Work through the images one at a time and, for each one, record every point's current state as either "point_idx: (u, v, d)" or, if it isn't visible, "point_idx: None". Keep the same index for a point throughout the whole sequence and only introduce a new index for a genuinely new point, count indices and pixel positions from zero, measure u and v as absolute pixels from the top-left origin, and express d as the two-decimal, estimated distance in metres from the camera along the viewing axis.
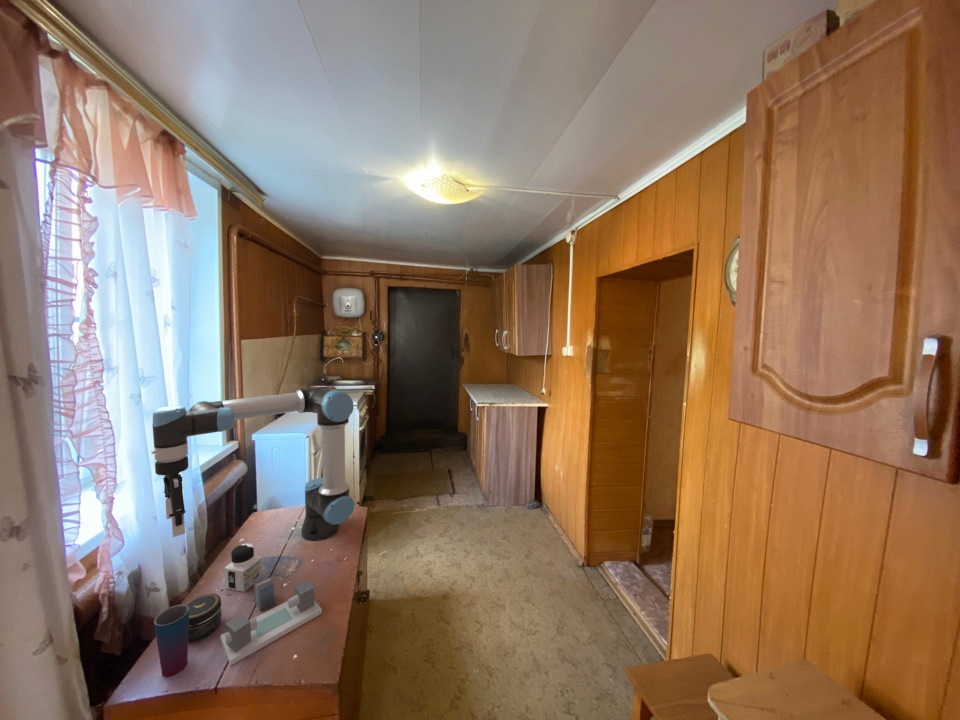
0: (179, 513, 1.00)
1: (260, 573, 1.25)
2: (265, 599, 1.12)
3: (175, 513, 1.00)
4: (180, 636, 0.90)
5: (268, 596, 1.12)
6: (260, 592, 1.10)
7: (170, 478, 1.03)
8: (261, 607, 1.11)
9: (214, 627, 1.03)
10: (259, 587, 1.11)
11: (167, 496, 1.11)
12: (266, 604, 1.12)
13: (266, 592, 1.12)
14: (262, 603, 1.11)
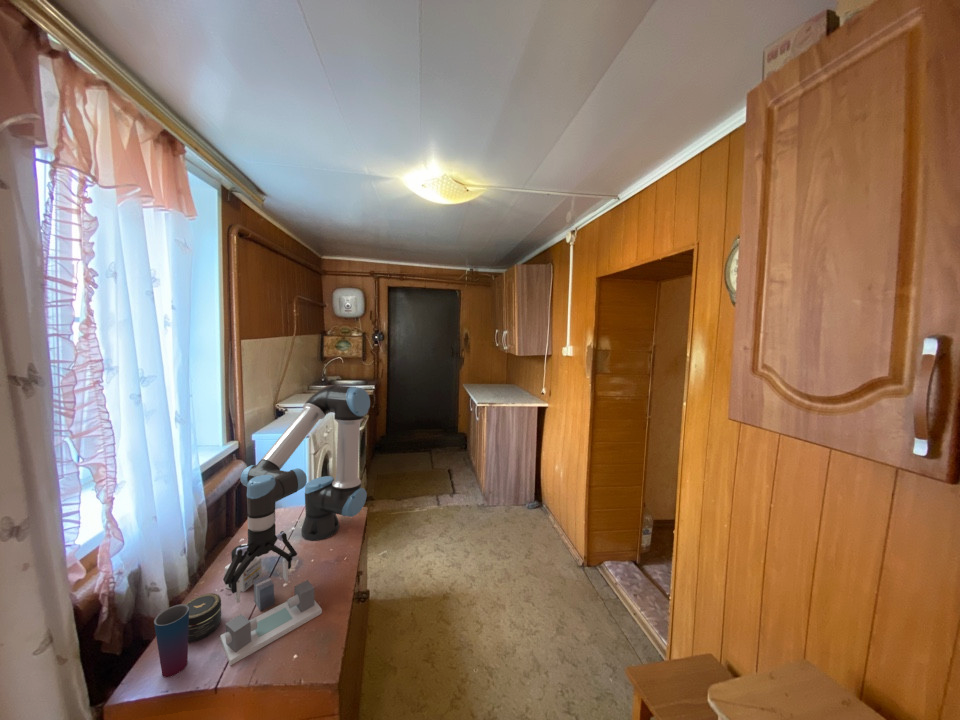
0: (224, 581, 1.05)
1: (260, 573, 1.25)
2: (265, 599, 1.12)
3: (223, 579, 1.06)
4: (180, 636, 0.90)
5: (268, 596, 1.12)
6: (260, 592, 1.10)
7: None
8: (261, 607, 1.11)
9: (214, 627, 1.03)
10: (259, 587, 1.11)
11: None
12: (266, 604, 1.12)
13: (266, 592, 1.12)
14: (262, 603, 1.11)
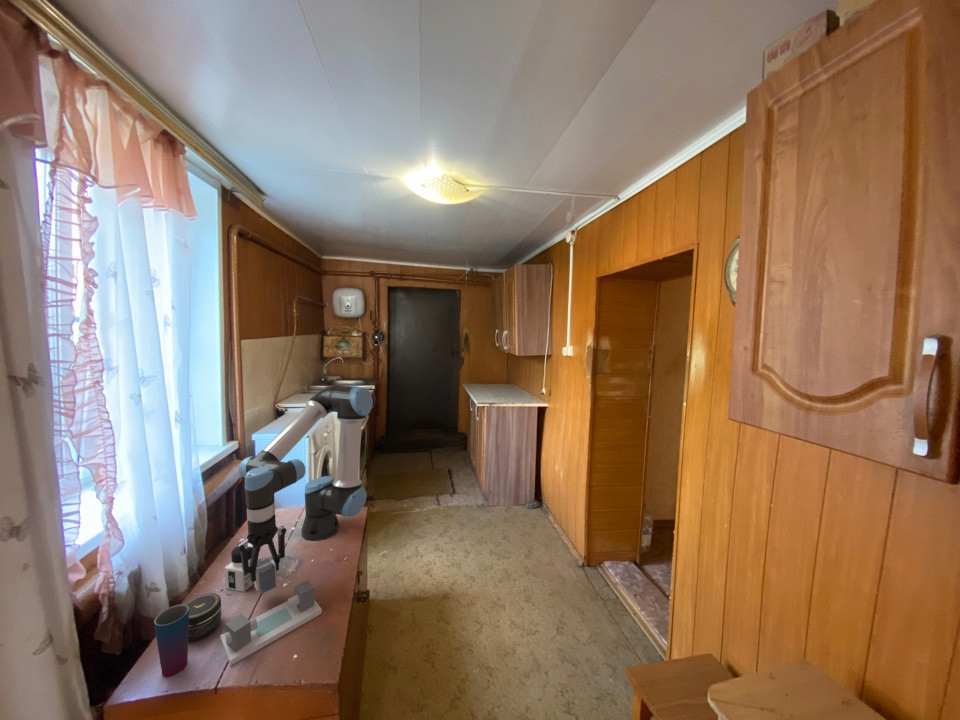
0: None
1: None
2: (266, 582, 1.12)
3: None
4: (180, 636, 0.90)
5: (269, 579, 1.12)
6: (261, 575, 1.10)
7: None
8: (263, 590, 1.11)
9: (214, 627, 1.03)
10: (260, 570, 1.11)
11: None
12: (267, 587, 1.12)
13: (267, 575, 1.12)
14: (263, 586, 1.11)
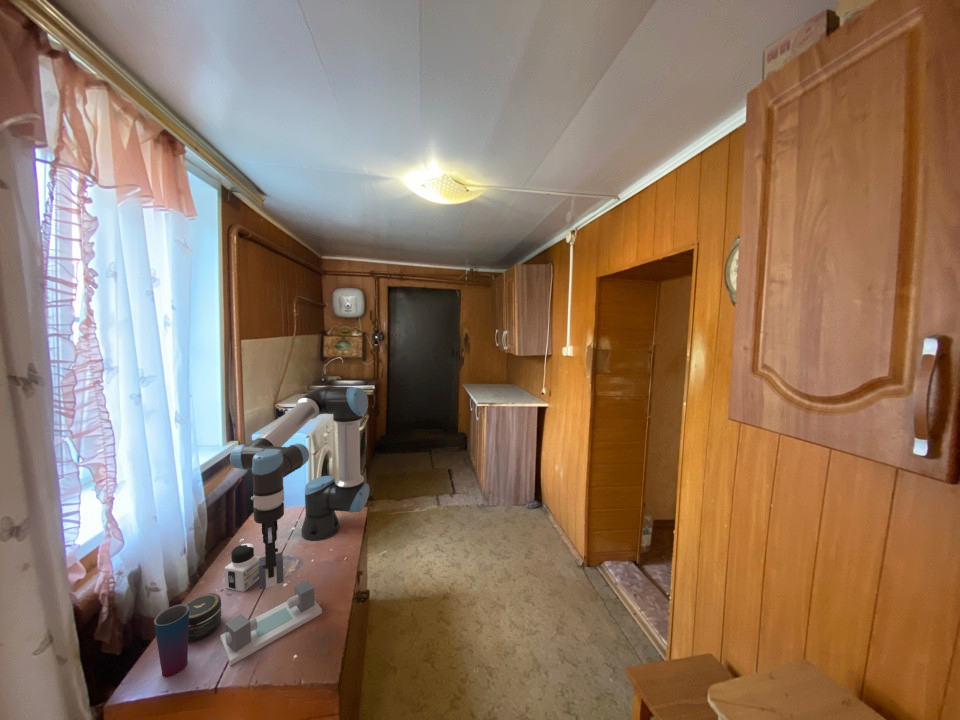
0: (270, 566, 0.99)
1: None
2: None
3: (267, 567, 0.98)
4: (180, 636, 0.90)
5: None
6: (282, 561, 1.04)
7: (266, 529, 0.99)
8: None
9: (214, 627, 1.03)
10: (277, 560, 1.03)
11: None
12: None
13: None
14: None
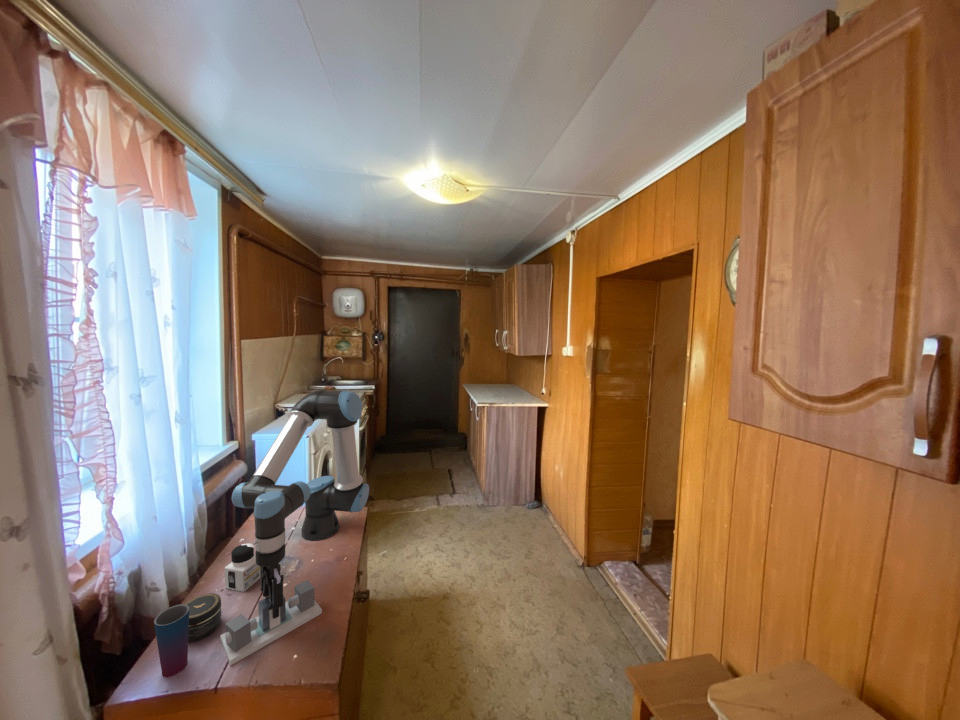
0: (278, 607, 1.01)
1: None
2: None
3: (275, 608, 1.00)
4: (180, 636, 0.90)
5: None
6: (284, 600, 1.05)
7: (272, 571, 1.00)
8: None
9: (214, 627, 1.03)
10: None
11: (265, 595, 1.06)
12: None
13: None
14: None
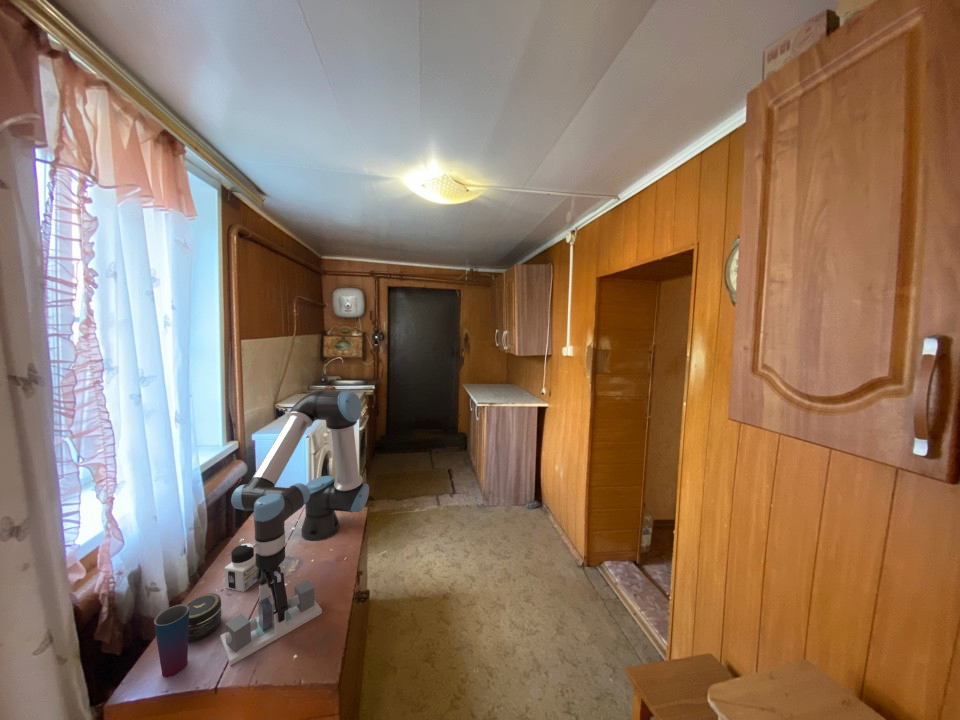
0: (284, 610, 0.98)
1: None
2: None
3: (280, 611, 0.97)
4: (180, 636, 0.90)
5: None
6: None
7: (271, 572, 1.00)
8: None
9: (214, 627, 1.03)
10: None
11: (261, 583, 1.08)
12: None
13: None
14: None
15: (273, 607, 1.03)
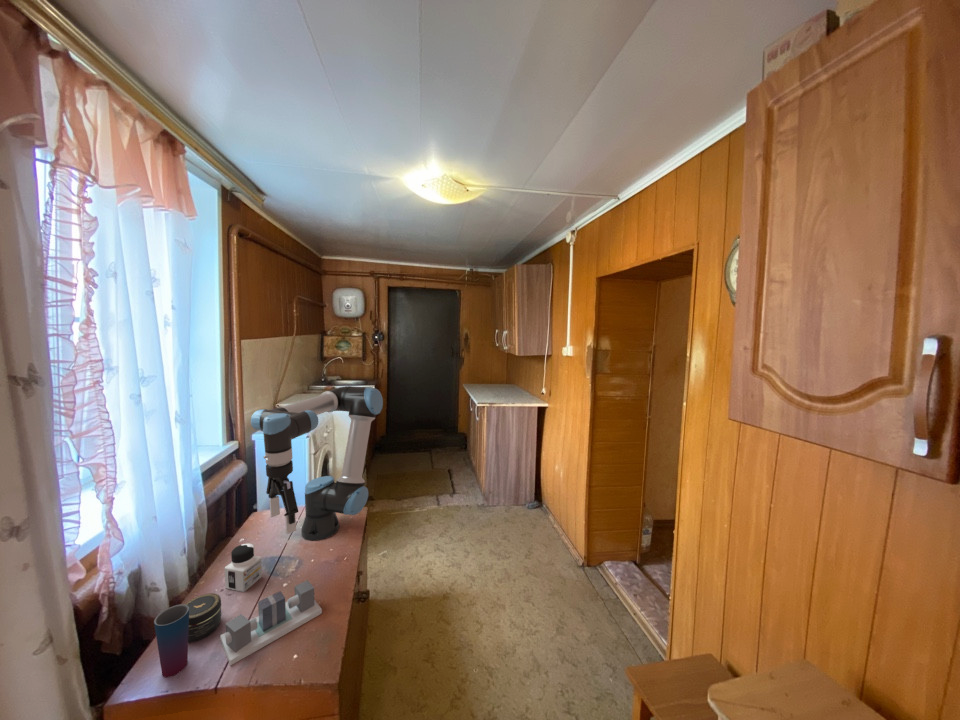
0: (294, 512, 1.09)
1: (260, 573, 1.25)
2: None
3: (291, 512, 1.08)
4: (180, 636, 0.90)
5: None
6: (284, 600, 1.05)
7: (281, 480, 1.11)
8: None
9: (214, 627, 1.03)
10: (279, 599, 1.04)
11: (271, 496, 1.19)
12: None
13: None
14: None
15: (273, 607, 1.03)
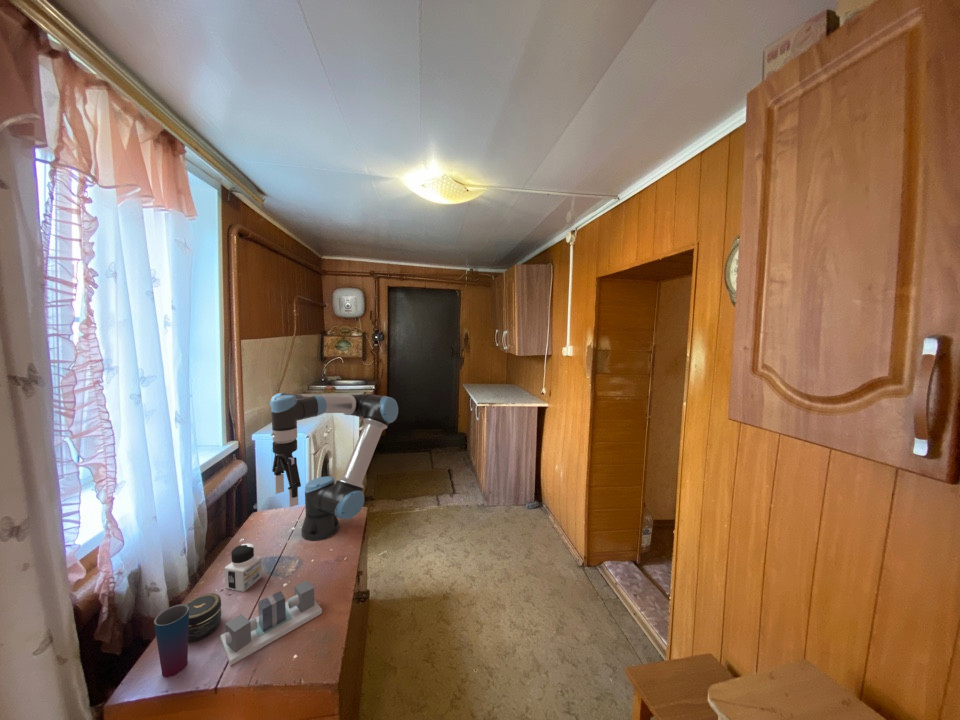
0: (297, 486, 1.17)
1: (260, 573, 1.25)
2: None
3: (294, 486, 1.16)
4: (180, 636, 0.90)
5: None
6: (284, 600, 1.05)
7: (286, 457, 1.20)
8: None
9: (214, 627, 1.03)
10: (279, 599, 1.04)
11: (276, 474, 1.28)
12: None
13: None
14: None
15: (273, 607, 1.03)
